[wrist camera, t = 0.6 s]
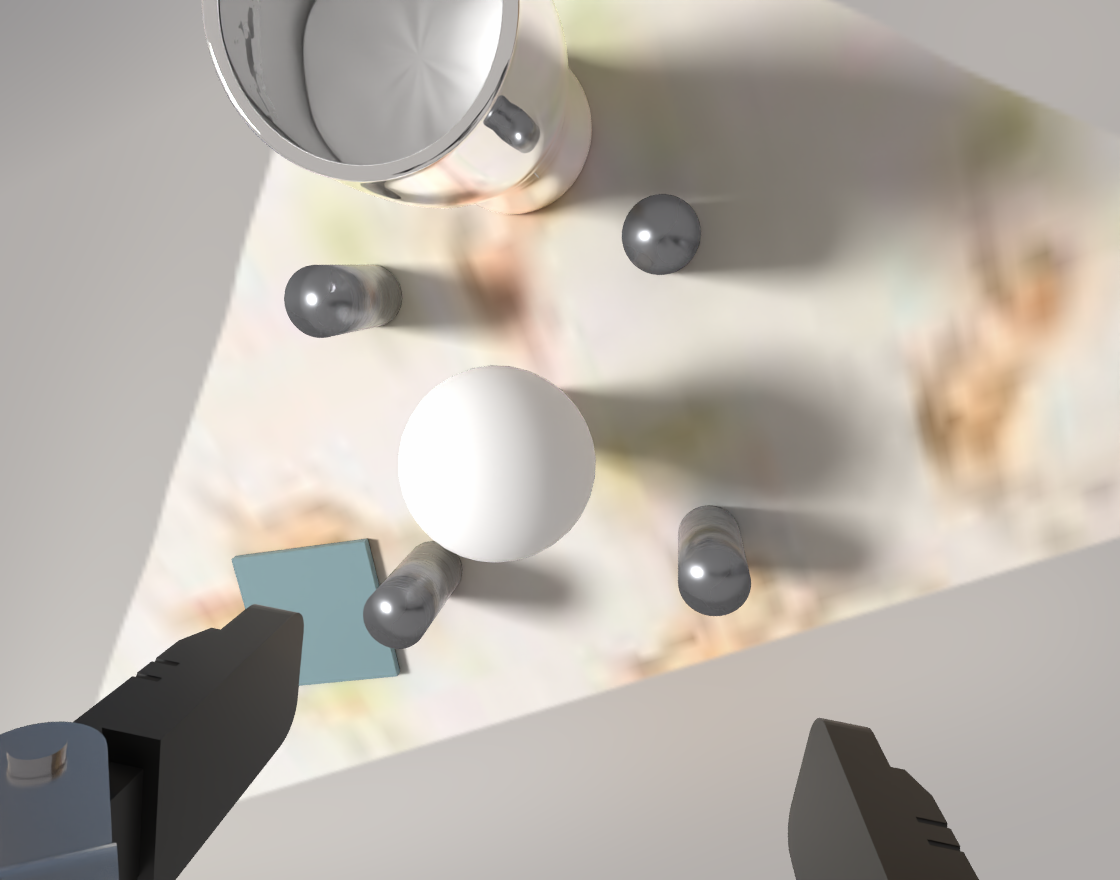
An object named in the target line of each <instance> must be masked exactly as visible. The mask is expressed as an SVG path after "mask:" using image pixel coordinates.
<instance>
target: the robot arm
mask: <svg viewBox="0 0 1120 880" xmlns="http://www.w3.org/2000/svg"><path fill="white" fill-rule="evenodd" d="M303 634H304V620H303V617H302V615H301V614H300V613H298V612H293V611H288V610H283V609H278V608H273V607H268V606H263V605H258V604H253V605H251V606H249V607H248V608H247V609H245V610H244V611H243V612H242V613H240V614H239V615H238V616H237V617H236V618H234V619H233V620H232V621H231V622H230V623H228V624H227V625H226V626H225V627H223V628H222V629H221V630H220V629H215V628H210V629H207V630H205V631H202V632H199V633H197V634H194V635H192V636H189V637H187V638H184V639H181V640H179V641H178V642H176V643H175V644H174V645H172V646H171V647H170V648H169V649H167V650H166V651H165V652H163V653H162V654H161V655H160V656H158V657H157V658H156V661H155V662H150V663H149V664H148V665H147V666H145V667H144V668H143V669H141V670H140V671H139V672H137V676H136V677H133V676H132V677H131V678H130V679H128V680H127V681H126V682H125V683H123V684H122V685H121V686H119V687H118V688H117V689H115V690H114V691H113V692H112V693H110V694H109V695H108V696H106V697H105V698H104V699H102V700H101V701H100V702H99V703H97V704H96V705H95V706H93V707H92V708H91V709H90V710H88V711H87V712H86V713H84V714H83V715H82V716H80V717H79V718H78V719H77V720H75V721H74V722H45V723H38V724H32V725H27V726H24V727H20V728H16V729H14V730H11V731H8V732H5V733H3V734H0V880H176V878H177V877H178V876H179V874H180V873H181V872H182V871H183V869H184V868H185V867H186V865H187V864H188V863H189V862H190V861H191V859H192V858H193V857H194V855H195V854H196V853H197V852H198V850H199V849H200V848H201V847H202V845H203V844H204V843H205V841H206V840H207V839H208V837H209V836H210V835H211V834H212V833H213V831H214V830H215V829H216V827H217V826H218V825H219V824H220V822H221V821H222V820H223V818H224V817H225V816H226V814H227V813H228V812H229V811H230V810H231V808H232V807H233V806H234V804H235V803H236V802H237V801H238V799H239V798H240V797H241V796H242V794H243V793H244V792H245V790H246V789H247V788H248V787H249V785H250V784H251V783H252V782H253V780H254V779H255V778H256V776H257V775H258V774H259V773H260V771H261V770H262V769H263V768H264V766H265V765H266V764H267V762H268V761H269V760H270V759H271V757H272V756H273V755H274V753H275V752H276V751H277V750H278V748H279V747H280V746H281V744H282V743H283V741H284V740H285V738H286V736H287V734H288V732H289V730H290V727H291V724H292V722H293V718H294V715H295V711H296V706H297V698H298V688H299V677H300V666H301V655H302V645H303ZM788 845H789V853H790V857H791V861H792V865H793V869H794V873H795V877H796V880H979V879H978V877H977V876H976V874H975V872H974V870H973V868H972V867H971V865H970V863H969V861H968V859H967V858H966V856H965V854H964V852H960V845H959V843H958V841H957V840H956V838H955V836H954V834H953V832H952V831H951V829H949V828H947V822H946V820H945V818H944V816H943V815H942V813H941V811H940V809H939V807H938V806H937V804H936V802H935V800H934V798H933V797H932V795H931V794H930V793H929V792H927V791H926V790H925V789H924V788H923V787H922V786H921V785H920V784H919V783H918V782H917V781H916V780H915V779H914V778H913V777H912V776H911V775H910V774H909V773H908V772H906V771H905V770H903V769H898V768H893V767H890V765H889V763H888V761H887V759H886V757H885V755H884V753H883V751H882V750H881V747H880V745H879V743H878V741H877V739H876V738H875V735H874V733H873V732H872V730H871V729H870V728H868V727H862V726H858V725H852V724H847V723H843V722H838V721H833V720H828V719H822V718H817V719H816V720H815V721H814V723H813V725H812V727H811V730H810V734H809V737H808V742H807V745H806V749H805V753H804V757H803V762H802V765H801V769H800V773H799V776H798V781H797V784H796V788H795V792H794V796H793V800H792V804H791V808H790V815H789V823H788Z"/></svg>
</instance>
